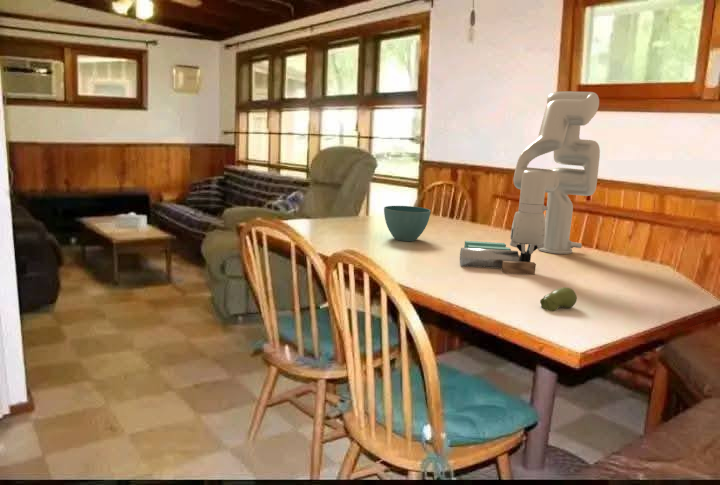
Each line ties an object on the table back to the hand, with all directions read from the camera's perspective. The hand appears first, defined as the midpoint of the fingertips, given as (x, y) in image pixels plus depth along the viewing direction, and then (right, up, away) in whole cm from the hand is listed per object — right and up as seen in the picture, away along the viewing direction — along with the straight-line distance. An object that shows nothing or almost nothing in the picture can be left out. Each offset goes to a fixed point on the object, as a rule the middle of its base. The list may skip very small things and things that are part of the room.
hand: (524, 264), depth 192 cm
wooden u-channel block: (-3, -1, 0) cm, 4 cm away
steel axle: (-12, +2, +1) cm, 12 cm away
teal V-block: (-10, +2, +13) cm, 17 cm away
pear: (-3, -10, -40) cm, 41 cm away
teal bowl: (-36, +8, +42) cm, 55 cm away
